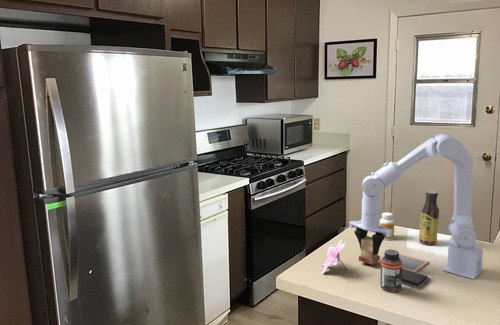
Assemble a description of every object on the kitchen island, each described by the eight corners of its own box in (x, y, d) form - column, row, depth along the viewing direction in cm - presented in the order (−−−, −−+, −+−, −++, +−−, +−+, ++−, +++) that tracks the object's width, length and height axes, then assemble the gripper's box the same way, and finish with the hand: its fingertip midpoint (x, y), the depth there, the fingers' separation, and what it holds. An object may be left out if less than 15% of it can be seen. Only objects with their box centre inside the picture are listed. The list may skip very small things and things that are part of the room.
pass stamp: (379, 260, 145) (380, 238, 143) (372, 264, 141) (373, 242, 140) (366, 256, 148) (366, 235, 147) (358, 260, 144) (359, 239, 143)
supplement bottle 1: (395, 240, 165) (396, 215, 163) (381, 240, 165) (382, 216, 164) (391, 235, 170) (392, 211, 169) (377, 235, 171) (378, 211, 169)
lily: (332, 262, 149) (319, 239, 147) (363, 256, 142) (349, 232, 140) (321, 286, 140) (307, 262, 138) (354, 280, 133) (339, 256, 131)
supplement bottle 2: (384, 281, 132) (386, 246, 130) (404, 287, 128) (406, 250, 126) (376, 289, 127) (377, 252, 125) (396, 294, 123) (398, 257, 121)
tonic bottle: (415, 241, 164) (417, 190, 160) (428, 239, 166) (431, 188, 162) (426, 247, 158) (429, 194, 154) (441, 245, 160) (444, 192, 156)
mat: (428, 262, 144) (429, 261, 144) (414, 273, 137) (414, 272, 136) (397, 254, 152) (397, 252, 152) (382, 264, 144) (382, 262, 144)
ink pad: (430, 280, 132) (430, 276, 131) (419, 289, 126) (419, 285, 126) (399, 271, 139) (399, 266, 138) (387, 279, 133) (387, 275, 133)
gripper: (397, 214, 139) (395, 254, 142) (357, 206, 149) (356, 243, 152) (387, 219, 134) (385, 260, 137) (346, 210, 144) (345, 249, 147)
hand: (369, 252), depth 144 cm, fingers closed on pass stamp, 4 cm apart
